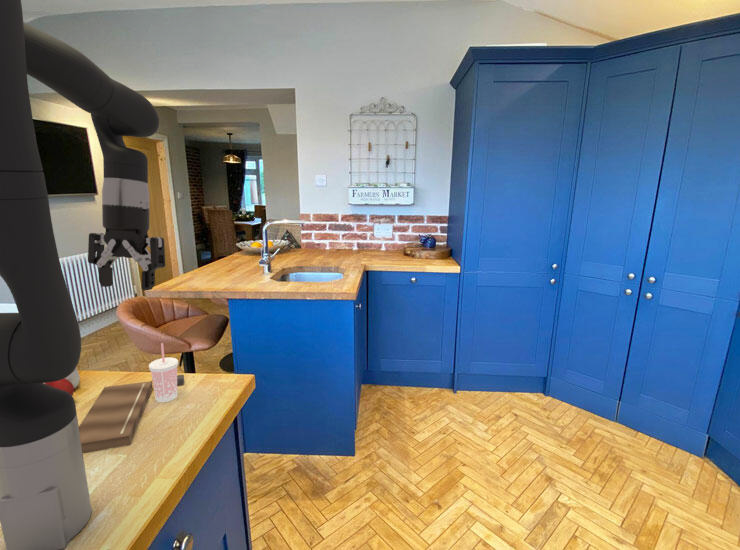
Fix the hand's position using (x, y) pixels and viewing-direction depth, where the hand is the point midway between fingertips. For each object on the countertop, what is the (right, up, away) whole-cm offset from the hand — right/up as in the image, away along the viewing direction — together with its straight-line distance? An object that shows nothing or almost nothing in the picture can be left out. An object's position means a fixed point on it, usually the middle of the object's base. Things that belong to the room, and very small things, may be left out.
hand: (127, 288), depth 71 cm
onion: (-23, -28, +11) cm, 38 cm away
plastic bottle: (-28, -26, +18) cm, 42 cm away
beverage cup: (-2, -27, +17) cm, 32 cm away
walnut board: (-5, -29, +10) cm, 31 cm away
